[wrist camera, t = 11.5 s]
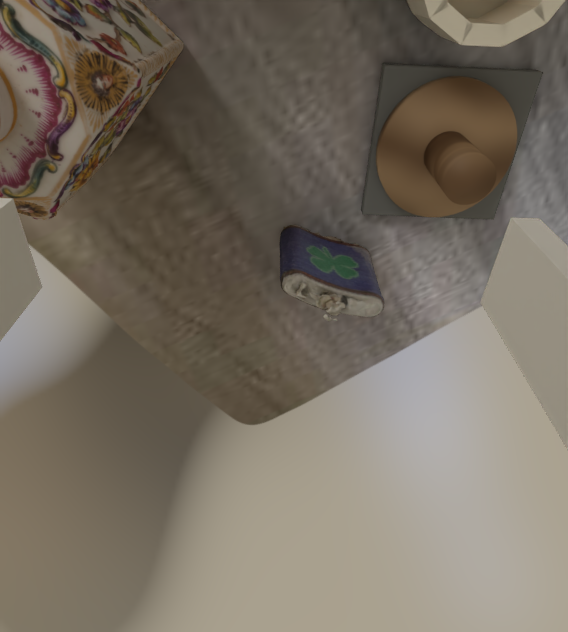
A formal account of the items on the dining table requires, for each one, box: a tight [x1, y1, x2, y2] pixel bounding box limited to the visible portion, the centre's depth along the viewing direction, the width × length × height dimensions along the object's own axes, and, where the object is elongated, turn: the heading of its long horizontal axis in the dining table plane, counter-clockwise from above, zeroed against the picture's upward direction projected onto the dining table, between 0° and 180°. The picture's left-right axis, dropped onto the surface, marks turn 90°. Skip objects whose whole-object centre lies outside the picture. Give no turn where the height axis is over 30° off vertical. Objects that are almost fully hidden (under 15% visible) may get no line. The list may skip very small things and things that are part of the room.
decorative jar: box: [0, 0, 184, 220], centre depth 28 cm, size 12×12×18 cm
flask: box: [280, 225, 384, 321], centre depth 41 cm, size 9×3×11 cm, turn 71°
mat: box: [361, 63, 543, 219], centre depth 39 cm, size 12×12×1 cm
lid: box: [376, 76, 517, 217], centre depth 35 cm, size 11×11×7 cm
